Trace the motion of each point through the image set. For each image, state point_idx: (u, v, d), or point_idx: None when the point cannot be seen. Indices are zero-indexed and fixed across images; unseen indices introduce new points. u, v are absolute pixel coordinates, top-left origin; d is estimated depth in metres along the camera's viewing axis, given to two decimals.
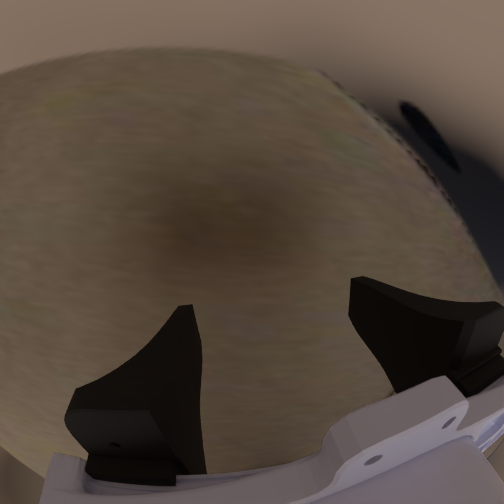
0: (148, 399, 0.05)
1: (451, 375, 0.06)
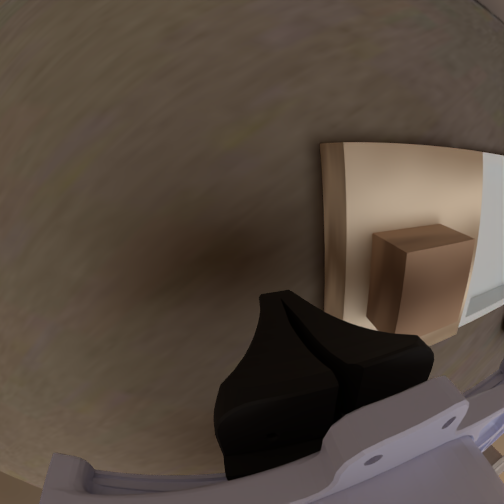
0: (330, 372, 0.05)
1: None
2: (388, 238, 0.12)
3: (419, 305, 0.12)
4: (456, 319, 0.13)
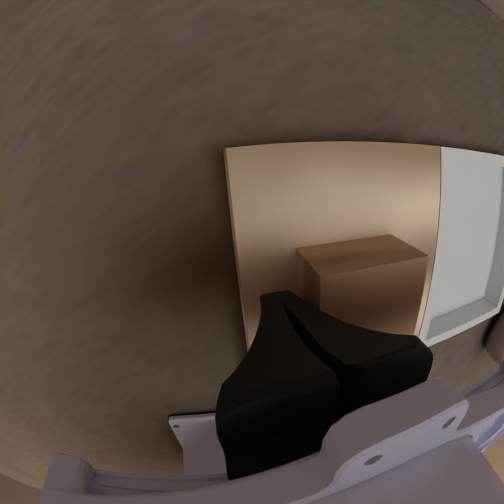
0: (331, 372, 0.05)
1: None
2: (310, 255, 0.11)
3: None
4: None
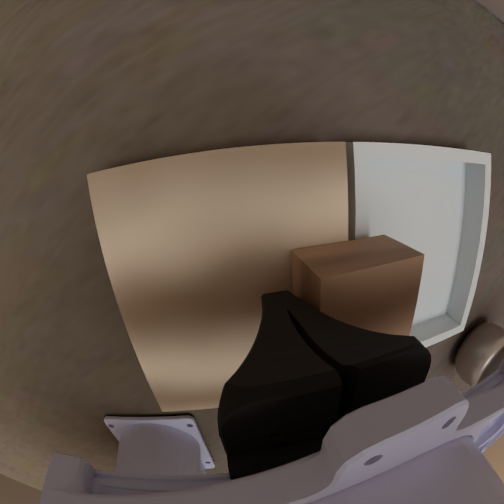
0: (334, 371, 0.05)
1: None
2: (307, 257, 0.11)
3: None
4: None
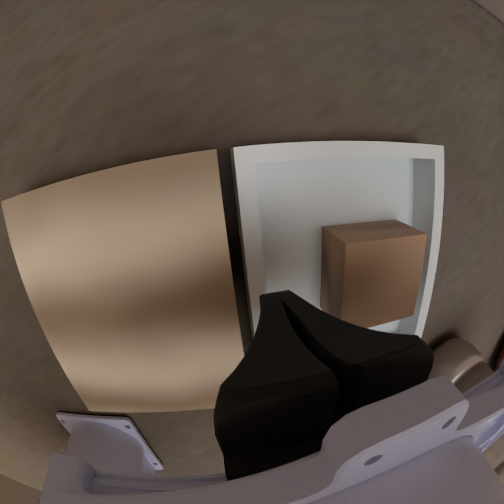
0: (330, 372, 0.05)
1: None
2: (411, 228, 0.14)
3: None
4: None
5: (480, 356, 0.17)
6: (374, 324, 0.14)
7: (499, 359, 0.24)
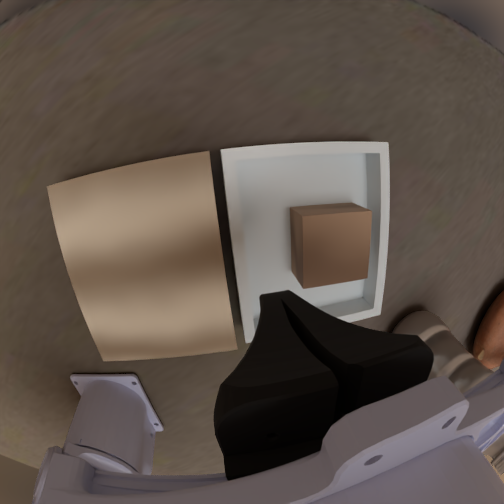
0: (330, 372, 0.05)
1: None
2: (360, 207, 0.19)
3: None
4: None
5: (444, 326, 0.22)
6: (332, 282, 0.19)
7: (475, 339, 0.29)
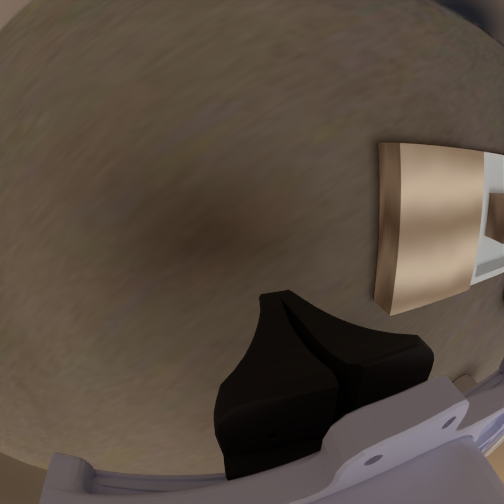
0: (330, 372, 0.05)
1: None
2: None
3: None
4: (485, 234, 0.24)
5: None
6: None
7: None
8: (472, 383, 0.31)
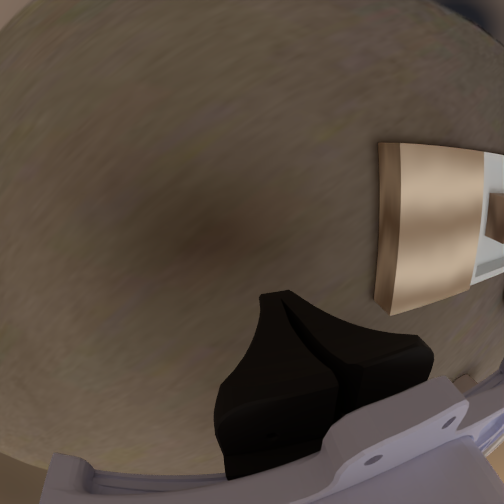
0: (330, 372, 0.05)
1: None
2: None
3: None
4: (485, 234, 0.24)
5: None
6: None
7: None
8: (472, 382, 0.31)
